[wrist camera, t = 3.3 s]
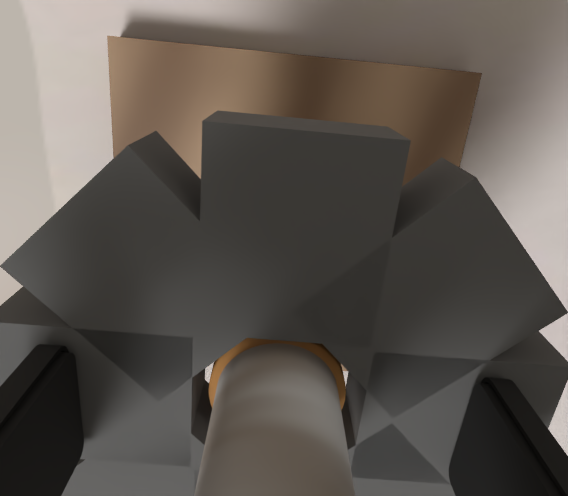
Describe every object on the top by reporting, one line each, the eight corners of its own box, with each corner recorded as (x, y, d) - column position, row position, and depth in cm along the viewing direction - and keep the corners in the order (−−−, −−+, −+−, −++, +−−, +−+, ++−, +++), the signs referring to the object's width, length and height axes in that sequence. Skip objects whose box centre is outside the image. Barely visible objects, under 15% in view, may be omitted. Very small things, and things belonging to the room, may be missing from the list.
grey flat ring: (587, 145, 10) (655, 163, 8) (454, 535, 15) (477, 601, 13) (5, 90, 10) (-60, 95, 8) (61, 510, 15) (29, 575, 13)
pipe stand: (468, 72, 21) (1211, 105, 4) (402, 359, 27) (597, 843, 10) (119, 37, 20) (-646, -88, 4) (132, 338, 26) (-132, 814, 10)
